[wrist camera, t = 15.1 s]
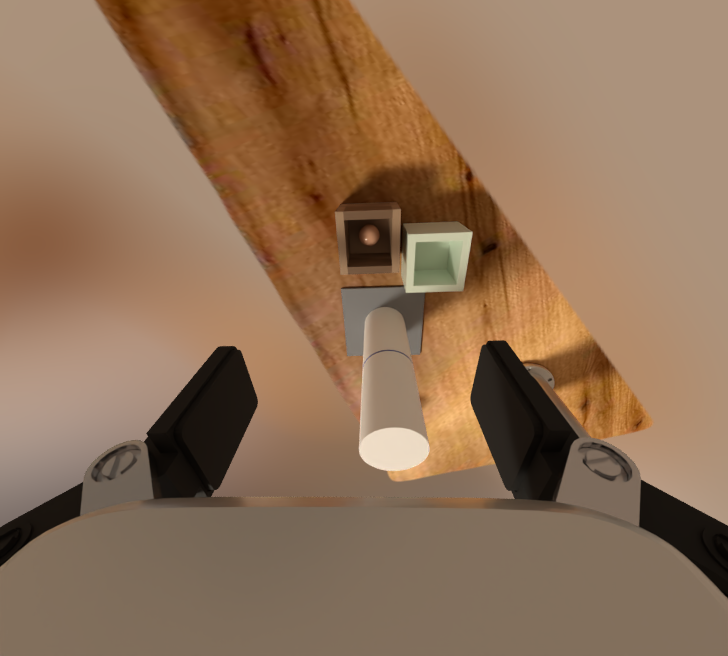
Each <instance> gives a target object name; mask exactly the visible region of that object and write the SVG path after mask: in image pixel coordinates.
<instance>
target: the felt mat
mask: <svg viewBox="0 0 728 656" xmlns="http://www.w3.org/2000/svg"><path fill="white" fill-rule="evenodd" d="M341 293H342V303H343V314H344V325H345V336H346V346H347V356H363V350H364V329H365V320H366V317H367V316H368V314H369V313H370V312H371V311H373V310H375V309H377V308H380V307H390V308H393V309H395V310H397V311H398V312H400V314H401V315H402V316H403V319H404V322H405V327H406V332H407V337H408V342H409V347H410V352H411V355H420V348H421V336H422V323H423V311H424V299H425V292H417V293H406V291H405V288H404V286H400V287H366V288H341Z"/></svg>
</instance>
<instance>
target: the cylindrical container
mask: <svg viewBox="0 0 728 656" xmlns="http://www.w3.org/2000/svg"><path fill="white" fill-rule="evenodd" d="M359 452H360V456H361V457H362V459H363V460H364V461H365V462H366V463H368V464H369V465H371V466H373V467H375V468H378V469H382V470H388V471H399V470H406V469H409V468H412V467H415V466H417V465H418V464H420V463H422V462H423V461H424V460H425V459H426V457H427V456H428V454H429V442H428V437H427V432H426V427H425V422H424V417H423V412H422V407H421V402H420V397H419V392H418V387H417V382H416V377H415V372H414V367H413V362H412V358H411V352H410V347H409V342H408V337H407V332H406V327H405V322H404V319H403V316H402V315H401V314H400V312H398V311H397V310H395V309H393V308H390V307H380V308H377V309H375V310H373V311H371V312H370V313H369V314H368V316H367V317H366V320H365V329H364V350H363V374H362V394H361V417H360V440H359Z"/></svg>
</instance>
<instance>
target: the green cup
mask: <svg viewBox="0 0 728 656" xmlns="http://www.w3.org/2000/svg"><path fill="white" fill-rule="evenodd" d="M472 233H473V232H472V231H470V230H469V229H468V228H466V227H465V226H463V225H462V224H461V223H459V222H458V221H454V222H429V223H404V224H403V235H402V268H401V276H402V280H403V284H404V288H405V291H406V293H417V292H451V291H463V289H464V283H465V277H466V271H467V264H468V258H469V252H470V246H471V240H472Z"/></svg>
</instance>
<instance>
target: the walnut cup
mask: <svg viewBox="0 0 728 656" xmlns="http://www.w3.org/2000/svg"><path fill="white" fill-rule="evenodd" d="M335 218H336V229H337V240H338V251H339V262H340V273H341V275H344V274H375V273H399V264H400V226H401V208H400V207H399V205H398V203H397V202H377V203H354V204H340V206H339V207H338V208H337V210H336V211H335ZM367 224H371V225H374V226H376V227H377V229H378V230H379V233H380V237H379V240H378V242H377V243H376V244H375V245H373V246H365V245H363V244H362V243H361V241H360V239H359V231H360V229H361V228H362V227H363V226H364V225H367Z"/></svg>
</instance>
